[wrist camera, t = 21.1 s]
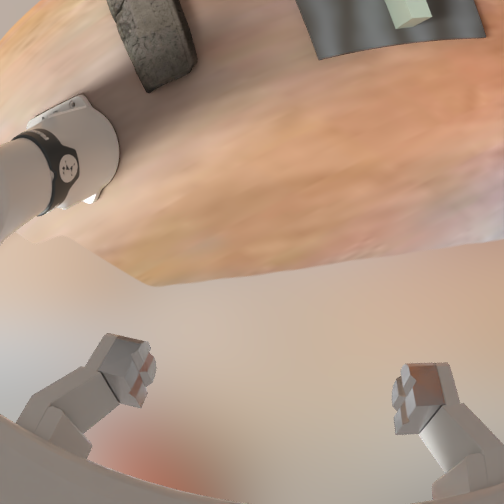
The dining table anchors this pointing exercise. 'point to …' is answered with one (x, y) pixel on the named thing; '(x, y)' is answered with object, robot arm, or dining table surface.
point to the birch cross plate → (383, 24)
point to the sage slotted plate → (408, 12)
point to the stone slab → (155, 39)
